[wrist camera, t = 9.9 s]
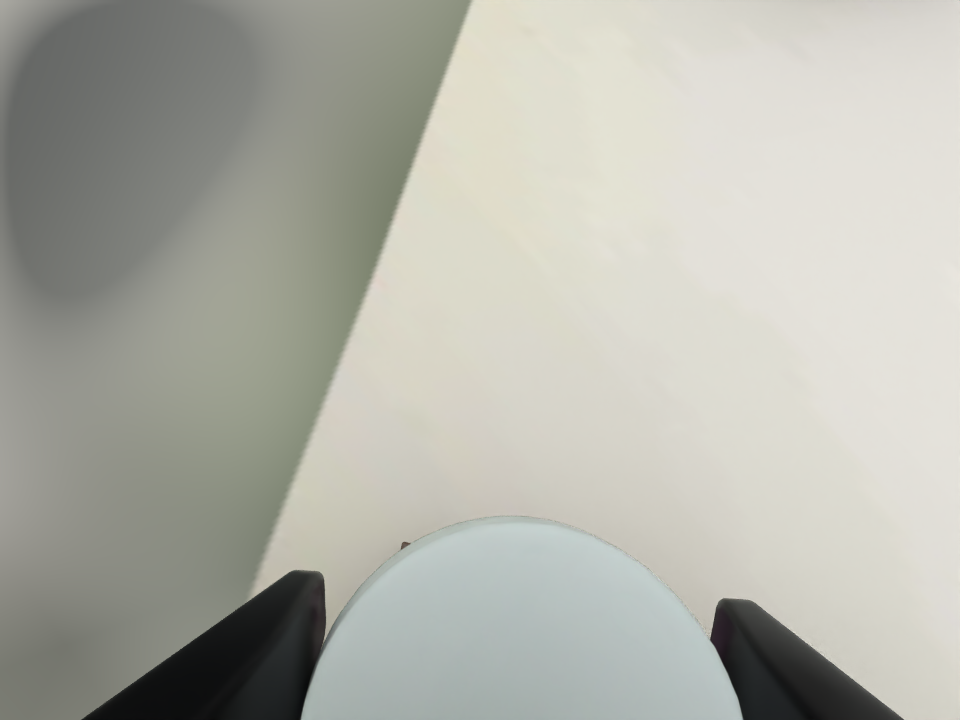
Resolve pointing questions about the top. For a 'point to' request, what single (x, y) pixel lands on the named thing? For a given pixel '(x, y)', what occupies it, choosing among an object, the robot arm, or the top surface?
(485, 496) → the top surface
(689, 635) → the pill bottle
